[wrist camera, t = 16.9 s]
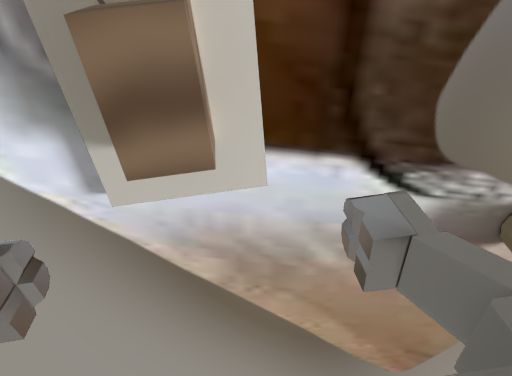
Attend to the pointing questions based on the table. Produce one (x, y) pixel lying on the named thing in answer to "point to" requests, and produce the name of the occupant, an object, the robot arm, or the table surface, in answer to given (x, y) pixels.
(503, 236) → the flower pot
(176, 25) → the block
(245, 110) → the marked board
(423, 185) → the table surface
